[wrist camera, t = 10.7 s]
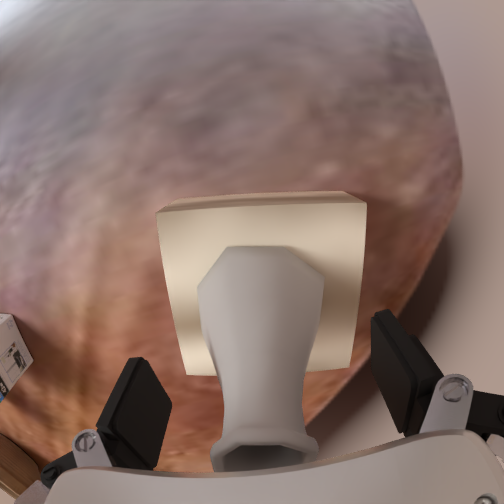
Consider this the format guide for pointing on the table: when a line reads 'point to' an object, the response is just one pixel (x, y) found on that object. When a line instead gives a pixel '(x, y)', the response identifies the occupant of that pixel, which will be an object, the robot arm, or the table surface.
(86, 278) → the table surface
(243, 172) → the table surface
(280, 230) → the birch block
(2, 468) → the tan bowl
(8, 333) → the light bulb box
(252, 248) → the flask
